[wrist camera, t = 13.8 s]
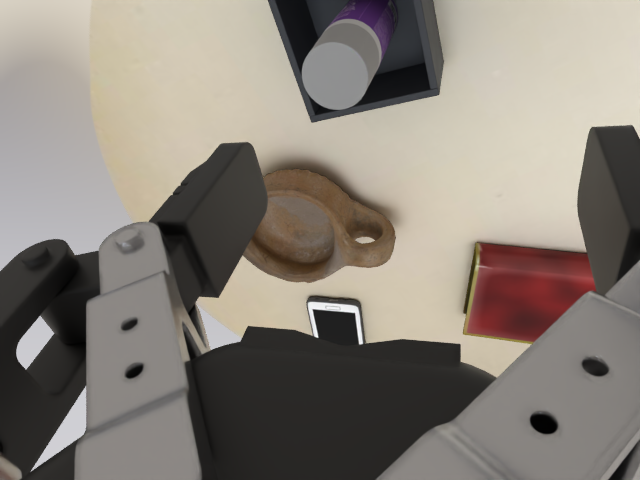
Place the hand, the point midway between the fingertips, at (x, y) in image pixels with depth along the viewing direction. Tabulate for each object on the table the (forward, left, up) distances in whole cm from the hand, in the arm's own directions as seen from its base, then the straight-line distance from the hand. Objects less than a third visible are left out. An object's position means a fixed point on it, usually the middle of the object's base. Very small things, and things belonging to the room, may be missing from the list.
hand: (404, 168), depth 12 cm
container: (+4, -7, -35) cm, 36 cm away
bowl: (+24, -15, -35) cm, 46 cm away
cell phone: (+47, -17, -35) cm, 61 cm away
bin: (+4, -7, -35) cm, 36 cm away
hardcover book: (+37, +12, -35) cm, 53 cm away
